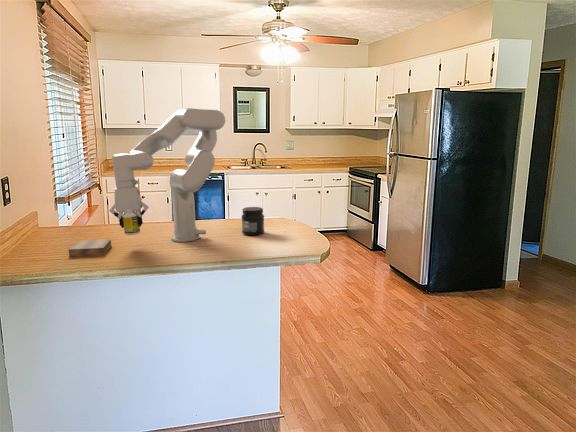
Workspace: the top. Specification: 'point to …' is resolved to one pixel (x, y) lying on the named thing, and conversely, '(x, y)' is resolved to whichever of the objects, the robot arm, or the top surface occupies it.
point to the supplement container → (252, 221)
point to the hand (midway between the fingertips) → (131, 226)
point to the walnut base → (90, 248)
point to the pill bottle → (130, 222)
